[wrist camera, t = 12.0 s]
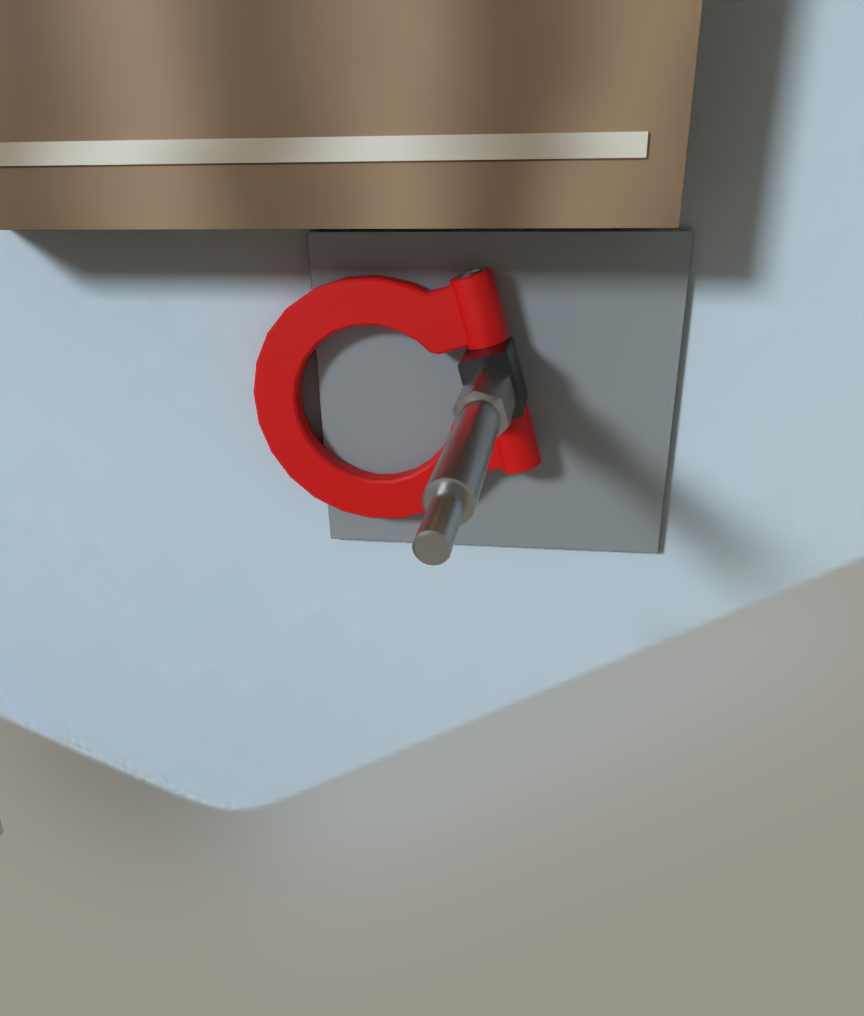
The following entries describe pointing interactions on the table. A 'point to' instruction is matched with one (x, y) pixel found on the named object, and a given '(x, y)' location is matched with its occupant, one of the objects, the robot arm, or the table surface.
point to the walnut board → (344, 113)
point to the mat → (546, 371)
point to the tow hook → (477, 411)
